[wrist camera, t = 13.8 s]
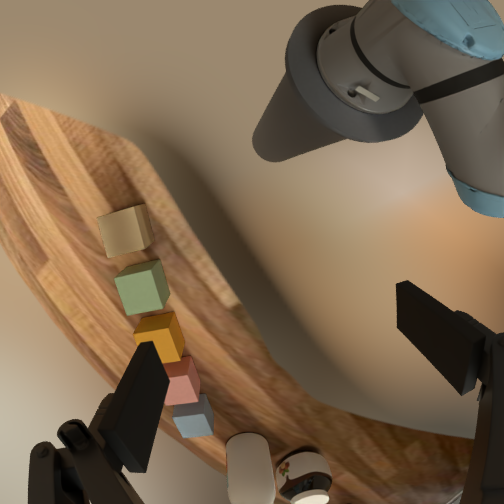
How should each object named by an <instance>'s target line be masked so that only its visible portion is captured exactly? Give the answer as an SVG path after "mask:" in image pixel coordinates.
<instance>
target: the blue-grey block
mask: <svg viewBox="0 0 504 504" xmlns="http://www.w3.org/2000/svg"><path fill="white" fill-rule="evenodd" d="M172 418H173V420H174V422H175V424H176V426H177V428H178V429H179V431H180V433H181V435H182V437H183V438H190V437H200V436H208V435H213V432H214V413H213V411H212V408H211V406H210V403H209V401H208V399H207V396H206V394H205V393H204V394H199V402H193V403H185V404H177V405H175V406H174V411H173V416H172Z"/></svg>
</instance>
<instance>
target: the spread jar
mask: <svg viewBox="0 0 504 504" xmlns="http://www.w3.org/2000/svg"><path fill="white" fill-rule="evenodd" d="M276 480H277V486H278V490H279V493H280V495H281V496H282V497H283V498H285V499H286V500H288V501H290V502H291V504H326V503H327V502H328V501H329V497H328V494H327V492H328V490H329V489H330V487H331V484H332V474H331V471H330V468H329V465H328V463H327V461H326V459H325V458H324V457H323V456H321V455H320V454H318V453H316V452H313V451H308V450H302V451H297V452H293V453H291V454H289V455H287V456H286V457H285V458H284V459H283V460H282V461H281V462H280V464H279V466H278V468H277V470H276Z"/></svg>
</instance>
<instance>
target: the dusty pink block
mask: <svg viewBox="0 0 504 504" xmlns="http://www.w3.org/2000/svg"><path fill="white" fill-rule="evenodd" d="M163 366H164V368H165V371H166V373H167V375H168V377H169V379H170V384H169V387H168V391H167V394H166V398H165V401H164V402H165V404H166V406H168V405H177V404H185V403H193V402H199V392H200V383H201V381H200V378H199V376H198V373H197V370H196V368H195V365H194V362H193V360H192V357H191V356H187V357H181V361H176V362H170V363H163Z"/></svg>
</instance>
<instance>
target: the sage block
mask: <svg viewBox="0 0 504 504" xmlns="http://www.w3.org/2000/svg"><path fill="white" fill-rule="evenodd" d="M114 280H115V283H116V286H117V289H118V292H119V295H120V298H121V301H122V303H123V306H124V309H125V312H126V314H127V316H128V315H133V314H138V313H143V312H149V311H154V310H159V309H163V308H164V306H165V304H166V302H167V300H168V298H169V295H170V292H169V288H168V285H167V282H166V278H165V275H164V272H163V268H162V265H161V261H160V259H158V260H154V261H150V262H145V263H141V264H137V265H133V266H129V267H126V268H125V269H124V270H123V271H121V272H120V273H119V274H118V275H117V276H116V277H115V278H114Z"/></svg>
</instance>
